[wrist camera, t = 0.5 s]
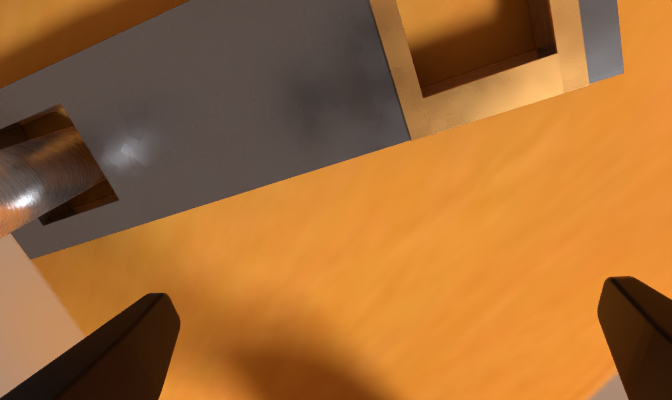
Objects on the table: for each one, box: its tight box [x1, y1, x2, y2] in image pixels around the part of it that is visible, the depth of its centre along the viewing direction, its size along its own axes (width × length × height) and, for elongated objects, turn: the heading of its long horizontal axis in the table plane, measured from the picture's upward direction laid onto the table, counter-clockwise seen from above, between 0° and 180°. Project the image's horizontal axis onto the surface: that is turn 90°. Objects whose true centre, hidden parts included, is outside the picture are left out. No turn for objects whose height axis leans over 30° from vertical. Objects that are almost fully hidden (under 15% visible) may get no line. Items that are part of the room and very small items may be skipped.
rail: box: [0, 0, 624, 259], centre depth 20 cm, size 33×9×3 cm, turn 111°
